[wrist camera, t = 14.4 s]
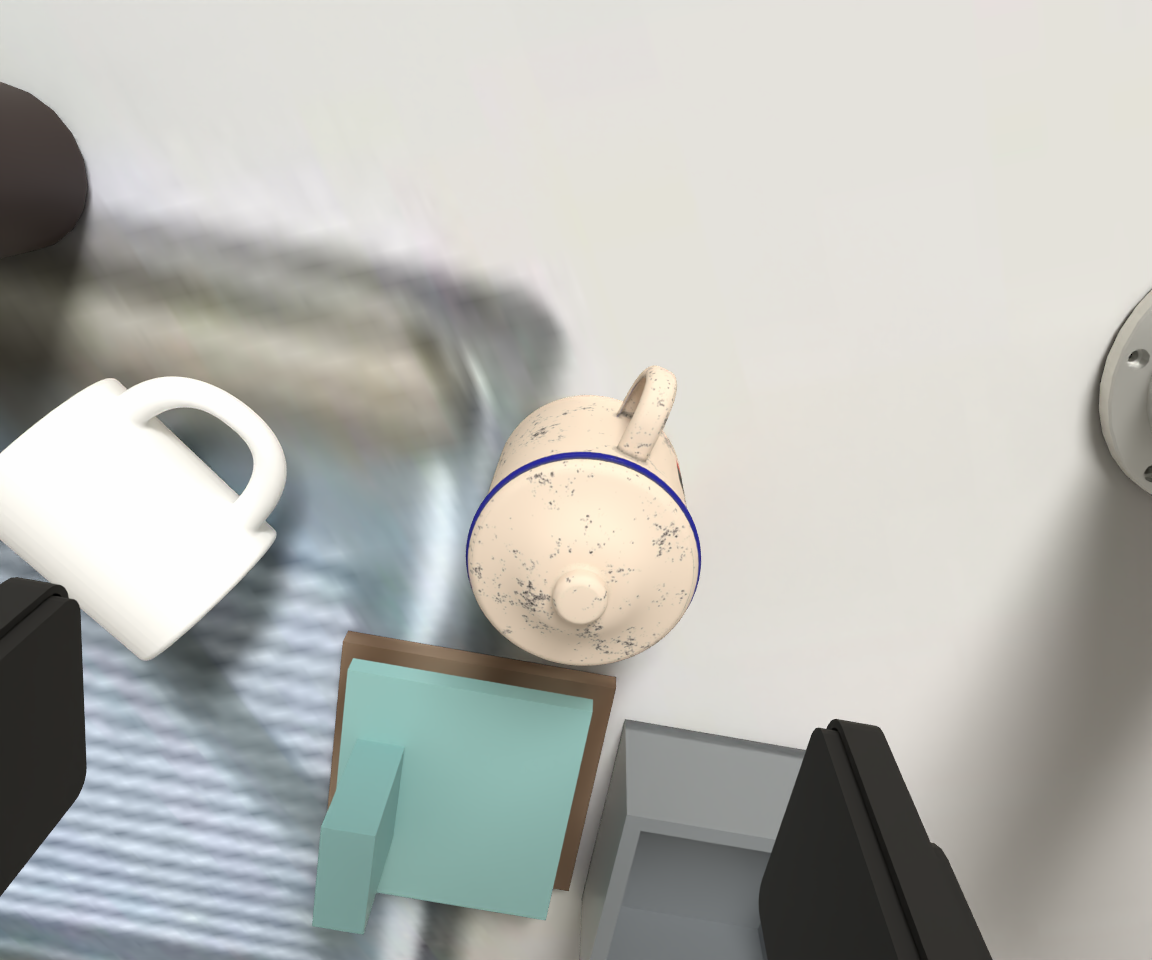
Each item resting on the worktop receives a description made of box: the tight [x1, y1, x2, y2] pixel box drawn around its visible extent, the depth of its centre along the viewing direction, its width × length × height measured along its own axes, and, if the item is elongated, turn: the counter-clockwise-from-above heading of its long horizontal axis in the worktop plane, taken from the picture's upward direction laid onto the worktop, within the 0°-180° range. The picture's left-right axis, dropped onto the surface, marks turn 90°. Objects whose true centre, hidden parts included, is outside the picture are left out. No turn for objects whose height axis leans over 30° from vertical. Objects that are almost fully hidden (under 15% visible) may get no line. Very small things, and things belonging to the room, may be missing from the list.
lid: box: [312, 658, 593, 935], centre depth 45 cm, size 12×14×8 cm
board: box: [327, 631, 616, 891], centre depth 49 cm, size 14×14×1 cm
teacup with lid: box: [466, 366, 701, 666], centre depth 37 cm, size 12×9×12 cm
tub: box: [579, 719, 806, 960], centre depth 47 cm, size 11×13×7 cm
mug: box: [0, 377, 287, 661], centre depth 40 cm, size 12×10×8 cm
